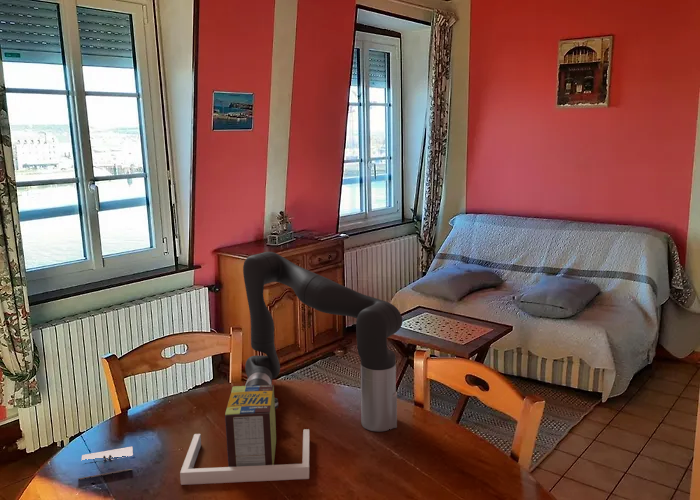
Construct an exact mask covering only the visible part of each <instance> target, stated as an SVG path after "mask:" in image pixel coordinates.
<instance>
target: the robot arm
mask: <svg viewBox="0 0 700 500" xmlns="http://www.w3.org/2000/svg"><path fill="white" fill-rule="evenodd" d="M242 272H243V281H244V286H245V287H244V288H245V292H246V299H247V304H248V309H249V315H250V316H249V317H250V345H251V348H252V350H254V351H256V352H260V353H262V354H265V355H252V356H250V357H248V358H247V360H246V361H245V366H244V370H245V374H246V376H247V380H246V383H245V385H244V386H256V385H273V383H272V382H273V379H276V378H277V377H278V376H279V375H280V372H281V364H280V360H279V358H278V354H277V351H276V346H275V321H274V318H273V316H272V313H271V311H270V310H269V309H268V307H267V305H266V301H265V299H264V289H265V288H264V287H265V285H267V284H271V283H279V284H283V285H284V286H287V287H289V288H290V289H292V290H293V291H294V292H293V293H294V294H295V295H296V297H297V299H298V300H299V301H300V302H301V303H302V304H303V305H306V306H308V307H310V308H312V309H314V310H316V311H318V312H321V313H324V314H329V315H337V316H343V317H344V316H346V317H350V318H355V319H356V322H355V329H356V331H355V333H356V348H357V355H359V359H360V402H361V405H360V409H361V411H360V412H361V413H360V417H361V418H360V420H361V422H360V423H361V425H362V427H363V428H364V429H366V430H368V431H371V432H378V433H379V432H386V431H390V430H392V429H397V428H398V394H397V388H396V387H397V386H396V385H397V384H396V382H397V381H396V380H397V379H396V378H397V377H396V376H397V375H396V374H397V371H396V370H397V368H396V361H397V360H396V359H397V358H396V357H397V356H396V354H395V352H394V350H391V349H389V348H388V344H387V343H388V341H387V340H388V339H387V338H389V337H391V336H394V334H396V333H397V332H398V331H399V330H400V329H401V328H402V325H403V315H402V314H401V312H400V309H398V308H397V307H396V306H395V305H394V304H393V303H391V302H388V301H386V300H384V299H379V298H376V297H373V296H370V295H367V294H364V293H361V292H358V291H356V290H354V289H351V288H350V287H347V286H344V285H342V284H340V283H338V282H336V281H334V280H332V279H330V278H327V277H326V276H323V275H320V274H318V273H315V272H313V271H311V270H309V269H307V268H304V267H302V266H299V265H297V264H295V263H294V262H292V261H290V260H288V259H287V258H286V257H284V256H282V255H280V254H278V253H277V252H274V251H264V252H261V253H257V254H252V255H250V256H248V257H246V258H245V260H244V262H243V266H242ZM274 401H275V410H277V409H278V408H279V400H278V398H277V397H274ZM389 429H390V430H389Z"/></svg>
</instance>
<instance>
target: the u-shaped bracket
mask: <svg viewBox="0 0 700 500" xmlns="http://www.w3.org/2000/svg"><path fill="white" fill-rule="evenodd" d="M201 437H202V435H201V433H194V434H193V436H192V440H191V442H190V444H189V448H188V450H187V453H186V456H185V458H184V461H183V463H182V467H181V468H180V469H181V470H180V472H179V479H180V485H181V486H182V485H185V486H186V485H203V484H205V485H207V484H208V485H209V484H224V483H225V484H226V483H227V484H228V483H229V484H230V483H244V482H245V483H247V482H267V481H268V482H269V481H270V482H271V481H289V480H291V481H292V480H309V479H310V447H311V444H310V429H309V428H308V429H307V428H306V429H305V428H304V429H303V432H302V462H301V463H288V464H286V463H285V464H274V465H262V466H240V467H229V466H223V467H222V466H219V467H201V468H200V467H198V468H195V464H196V461H197V458H198V455H199V452H200V449H201V446H202V438H201Z"/></svg>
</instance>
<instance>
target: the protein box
mask: <svg viewBox="0 0 700 500" xmlns="http://www.w3.org/2000/svg"><path fill="white" fill-rule="evenodd" d="M274 398H275V385H274V384H272V385H256V386H245V385H241V386H240V385H236V386H234V385H233V386H232V388H231V393H230V395H229V398H228V402H227V405H226V410H225V412H224V413H225V414H224V417H225V418H224V420H225V421H224V422H225V433H226V447H227V448H226V450H227V463H228V466H227V467H240V466H262V465H275V457H276V456H275V455H276V446H277V445H276V444H277V430H276V429H277V428H276V426H277V424H276V409H275V401H274Z"/></svg>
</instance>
